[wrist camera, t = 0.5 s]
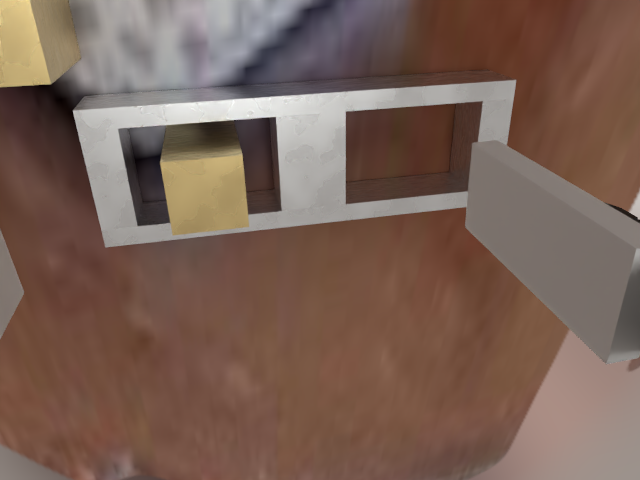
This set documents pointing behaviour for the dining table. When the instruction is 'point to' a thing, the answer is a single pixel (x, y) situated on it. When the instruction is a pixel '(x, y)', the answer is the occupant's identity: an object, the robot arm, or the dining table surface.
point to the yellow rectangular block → (36, 41)
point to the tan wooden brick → (204, 177)
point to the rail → (291, 147)
